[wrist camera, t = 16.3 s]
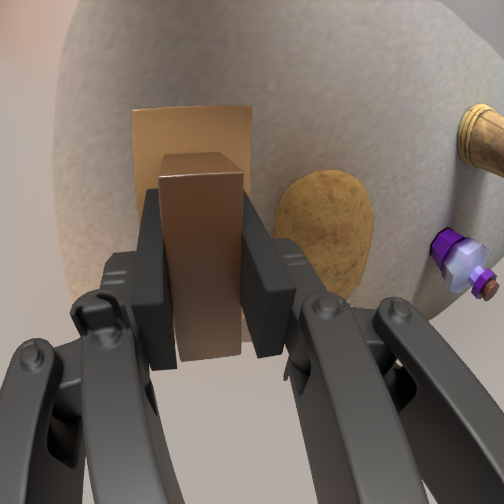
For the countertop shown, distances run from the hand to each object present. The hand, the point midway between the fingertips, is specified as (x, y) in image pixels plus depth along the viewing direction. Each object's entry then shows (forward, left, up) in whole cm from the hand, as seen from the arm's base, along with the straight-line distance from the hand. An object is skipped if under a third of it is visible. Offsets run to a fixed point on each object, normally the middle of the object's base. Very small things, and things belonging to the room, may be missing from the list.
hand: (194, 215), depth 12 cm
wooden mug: (-5, +38, -13) cm, 41 cm away
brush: (+1, 0, -4) cm, 4 cm away
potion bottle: (+13, +36, -13) cm, 40 cm away
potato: (+8, +12, -13) cm, 20 cm away
